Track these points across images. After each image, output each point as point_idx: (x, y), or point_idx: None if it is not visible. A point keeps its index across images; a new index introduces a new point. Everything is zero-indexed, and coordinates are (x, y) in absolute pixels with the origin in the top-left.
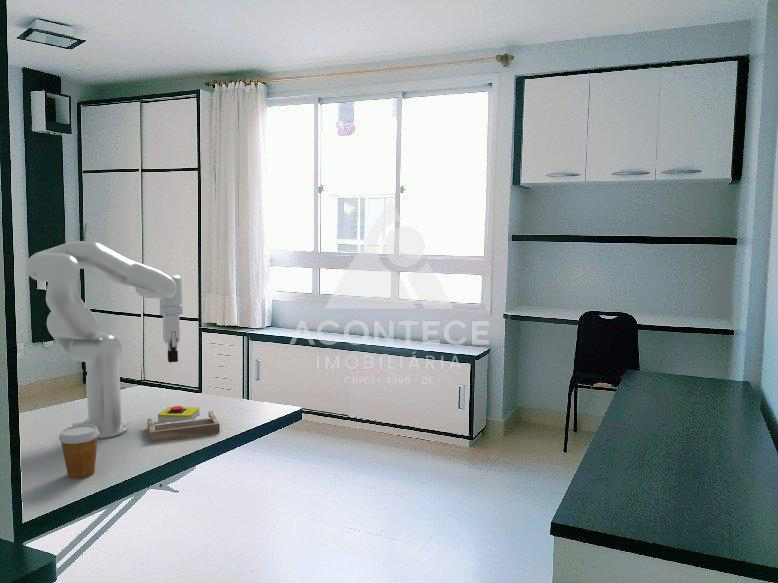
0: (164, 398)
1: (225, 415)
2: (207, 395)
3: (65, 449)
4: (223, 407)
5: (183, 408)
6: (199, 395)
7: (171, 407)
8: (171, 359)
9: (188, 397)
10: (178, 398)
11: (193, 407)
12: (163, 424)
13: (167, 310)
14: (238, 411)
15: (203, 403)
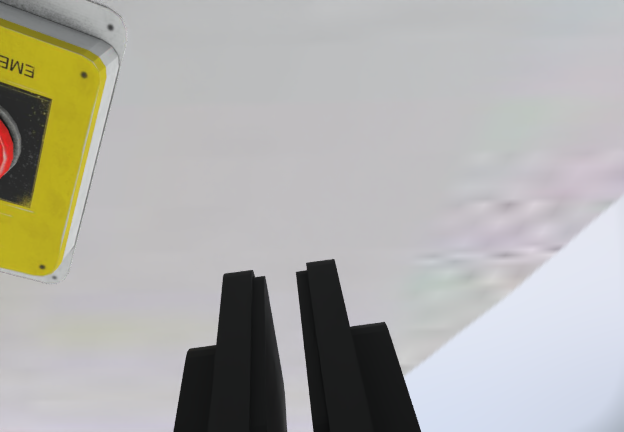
0: (581, 6)
1: (43, 373)
2: (507, 285)
3: None
4: None
5: (40, 180)
6: (532, 242)
7: (82, 90)
8: (191, 354)
9: (518, 178)
10: (526, 112)
11: (60, 244)
12: None
13: None
14: (112, 424)
15: None
